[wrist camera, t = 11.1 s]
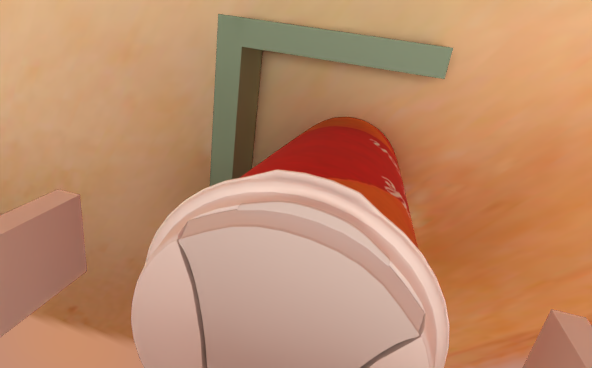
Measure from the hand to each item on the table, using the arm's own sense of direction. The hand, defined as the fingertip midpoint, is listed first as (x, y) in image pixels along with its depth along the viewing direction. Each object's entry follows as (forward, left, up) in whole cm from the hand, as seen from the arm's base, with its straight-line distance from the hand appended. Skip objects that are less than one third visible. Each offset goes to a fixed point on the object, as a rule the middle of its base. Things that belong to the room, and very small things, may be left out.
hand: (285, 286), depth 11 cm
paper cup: (0, 0, -12) cm, 12 cm away
